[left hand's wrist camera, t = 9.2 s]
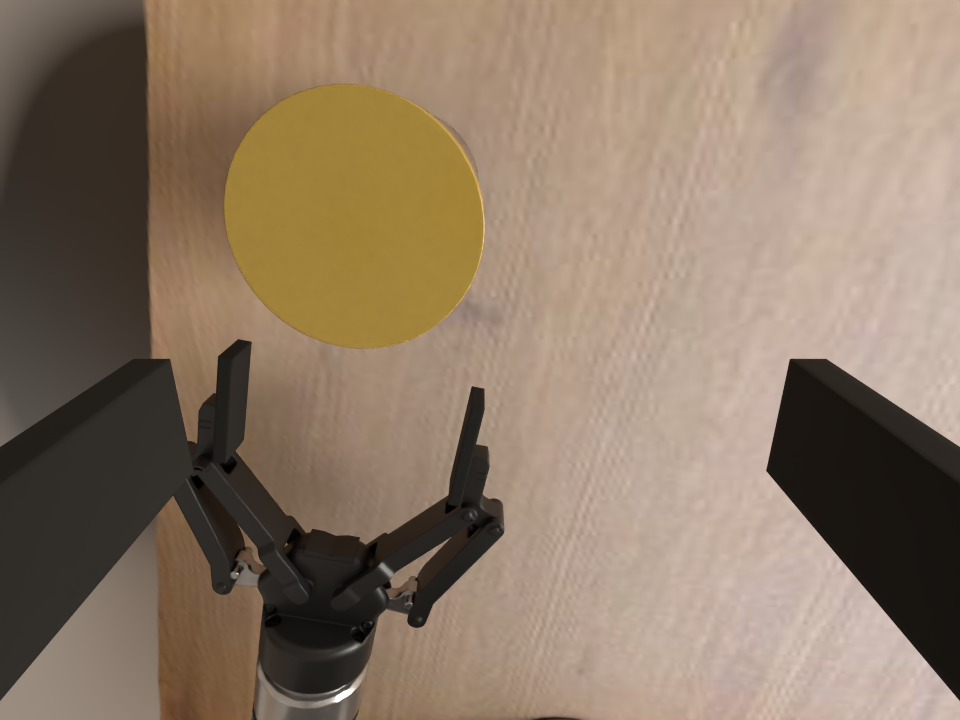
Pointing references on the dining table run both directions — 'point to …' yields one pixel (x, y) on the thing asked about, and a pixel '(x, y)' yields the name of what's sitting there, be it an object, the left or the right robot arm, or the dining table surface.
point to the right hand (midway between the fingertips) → (358, 372)
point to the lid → (354, 215)
